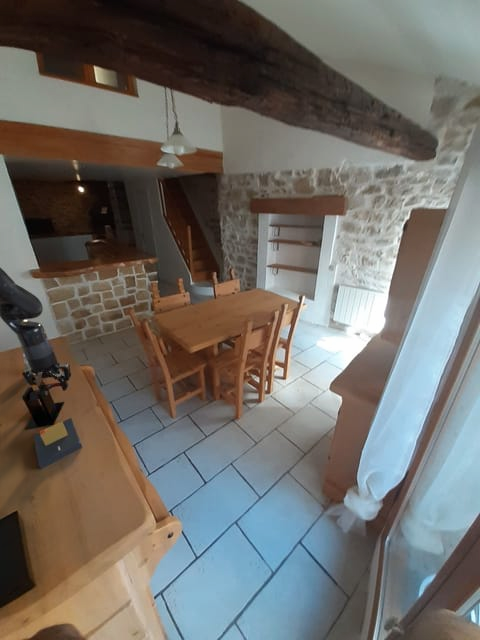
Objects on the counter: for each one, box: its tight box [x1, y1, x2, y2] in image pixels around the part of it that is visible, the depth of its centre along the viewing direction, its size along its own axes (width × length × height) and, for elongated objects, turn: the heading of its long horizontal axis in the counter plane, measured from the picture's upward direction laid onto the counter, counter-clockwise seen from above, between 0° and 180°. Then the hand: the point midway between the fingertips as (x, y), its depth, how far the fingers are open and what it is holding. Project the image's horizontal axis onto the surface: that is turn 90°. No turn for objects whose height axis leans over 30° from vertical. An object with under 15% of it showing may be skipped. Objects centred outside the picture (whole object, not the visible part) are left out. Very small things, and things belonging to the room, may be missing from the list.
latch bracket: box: [21, 385, 65, 431], centre depth 82 cm, size 10×8×12 cm
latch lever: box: [29, 381, 61, 400], centre depth 85 cm, size 13×5×2 cm, turn 14°
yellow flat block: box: [39, 421, 68, 446], centre depth 73 cm, size 6×2×5 cm, turn 132°
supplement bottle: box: [22, 353, 37, 376], centre depth 103 cm, size 5×5×10 cm
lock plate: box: [32, 417, 83, 470], centre depth 75 cm, size 12×10×3 cm
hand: (55, 390), depth 92 cm, fingers open, 6 cm apart
